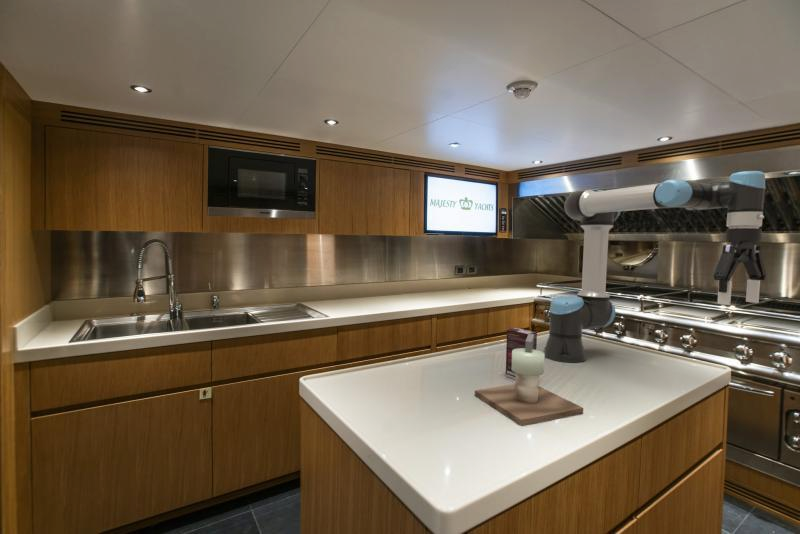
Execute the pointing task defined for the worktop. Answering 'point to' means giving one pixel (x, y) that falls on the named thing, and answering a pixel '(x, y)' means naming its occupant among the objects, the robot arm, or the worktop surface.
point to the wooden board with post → (528, 401)
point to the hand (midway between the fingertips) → (738, 303)
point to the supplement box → (516, 346)
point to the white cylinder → (528, 359)
